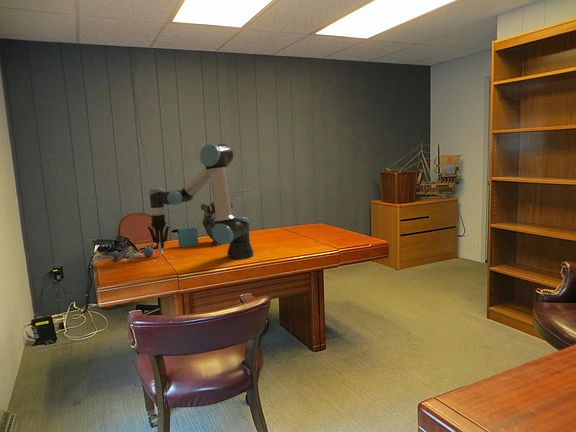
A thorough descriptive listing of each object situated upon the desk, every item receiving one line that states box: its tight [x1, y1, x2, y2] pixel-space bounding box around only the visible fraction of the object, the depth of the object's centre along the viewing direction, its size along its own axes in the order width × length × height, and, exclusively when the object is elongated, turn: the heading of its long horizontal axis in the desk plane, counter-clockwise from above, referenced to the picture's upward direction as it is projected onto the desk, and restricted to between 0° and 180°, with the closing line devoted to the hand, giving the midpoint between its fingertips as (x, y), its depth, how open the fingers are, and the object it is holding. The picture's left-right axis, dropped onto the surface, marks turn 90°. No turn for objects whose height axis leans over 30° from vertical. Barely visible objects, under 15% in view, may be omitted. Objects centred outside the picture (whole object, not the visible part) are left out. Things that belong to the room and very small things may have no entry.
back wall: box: [113, 247, 129, 263], centre depth 254 cm, size 2×20×4 cm, turn 177°
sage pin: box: [128, 245, 135, 263], centre depth 244 cm, size 2×2×8 cm
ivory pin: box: [126, 252, 143, 258], centre depth 254 cm, size 2×2×8 cm
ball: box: [142, 246, 155, 258], centre depth 253 cm, size 6×6×6 cm
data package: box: [177, 226, 199, 248], centre depth 281 cm, size 12×4×12 cm, turn 119°
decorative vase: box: [200, 201, 233, 245], centre depth 286 cm, size 21×19×28 cm
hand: (161, 253), depth 252 cm, fingers closed
